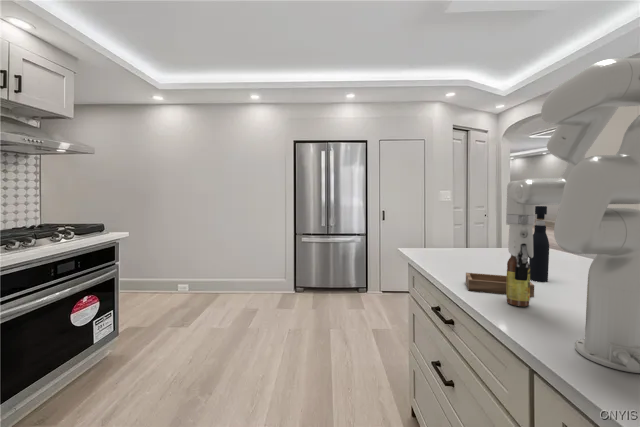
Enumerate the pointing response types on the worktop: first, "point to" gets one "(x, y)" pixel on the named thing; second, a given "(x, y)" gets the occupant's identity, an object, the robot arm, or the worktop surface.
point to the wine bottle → (540, 248)
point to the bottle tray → (489, 283)
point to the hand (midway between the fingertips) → (518, 276)
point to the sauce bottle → (517, 285)
